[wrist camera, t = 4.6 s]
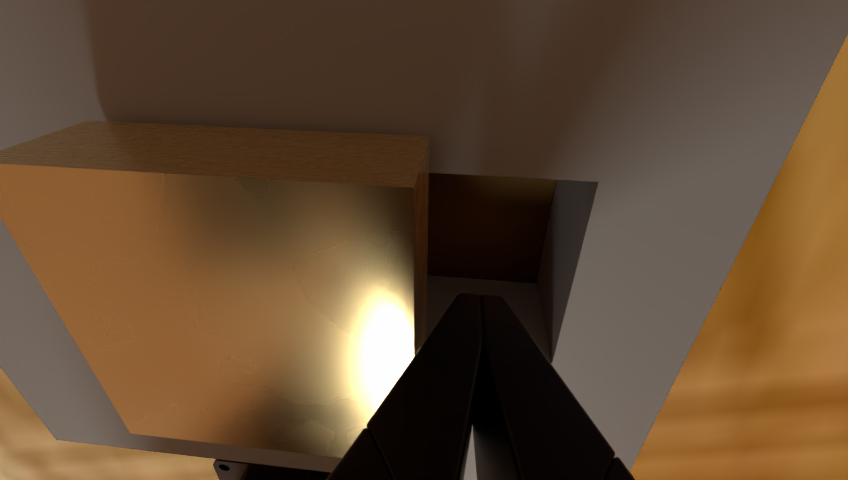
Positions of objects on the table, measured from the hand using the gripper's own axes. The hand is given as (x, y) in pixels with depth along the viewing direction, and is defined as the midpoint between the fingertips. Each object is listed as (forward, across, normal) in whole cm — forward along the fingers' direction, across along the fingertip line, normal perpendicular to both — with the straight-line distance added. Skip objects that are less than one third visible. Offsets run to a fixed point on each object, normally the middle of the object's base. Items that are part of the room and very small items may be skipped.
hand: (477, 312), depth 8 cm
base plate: (+4, +4, +1) cm, 6 cm away
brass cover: (+1, +4, 0) cm, 4 cm away
